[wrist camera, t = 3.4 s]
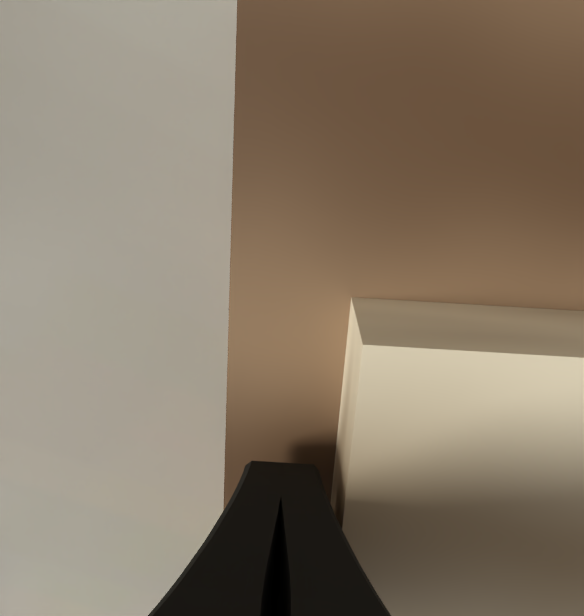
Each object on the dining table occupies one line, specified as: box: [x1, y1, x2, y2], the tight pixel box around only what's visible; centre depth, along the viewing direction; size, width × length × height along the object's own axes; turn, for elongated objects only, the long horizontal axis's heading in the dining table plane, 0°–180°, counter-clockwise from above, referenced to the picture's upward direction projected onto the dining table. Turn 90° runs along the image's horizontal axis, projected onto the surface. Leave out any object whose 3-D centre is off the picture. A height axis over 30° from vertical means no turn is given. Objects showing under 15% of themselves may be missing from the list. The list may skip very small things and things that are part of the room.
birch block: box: [330, 297, 584, 616], centre depth 10 cm, size 8×8×2 cm
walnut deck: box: [224, 0, 584, 509], centre depth 13 cm, size 18×10×4 cm, turn 176°
